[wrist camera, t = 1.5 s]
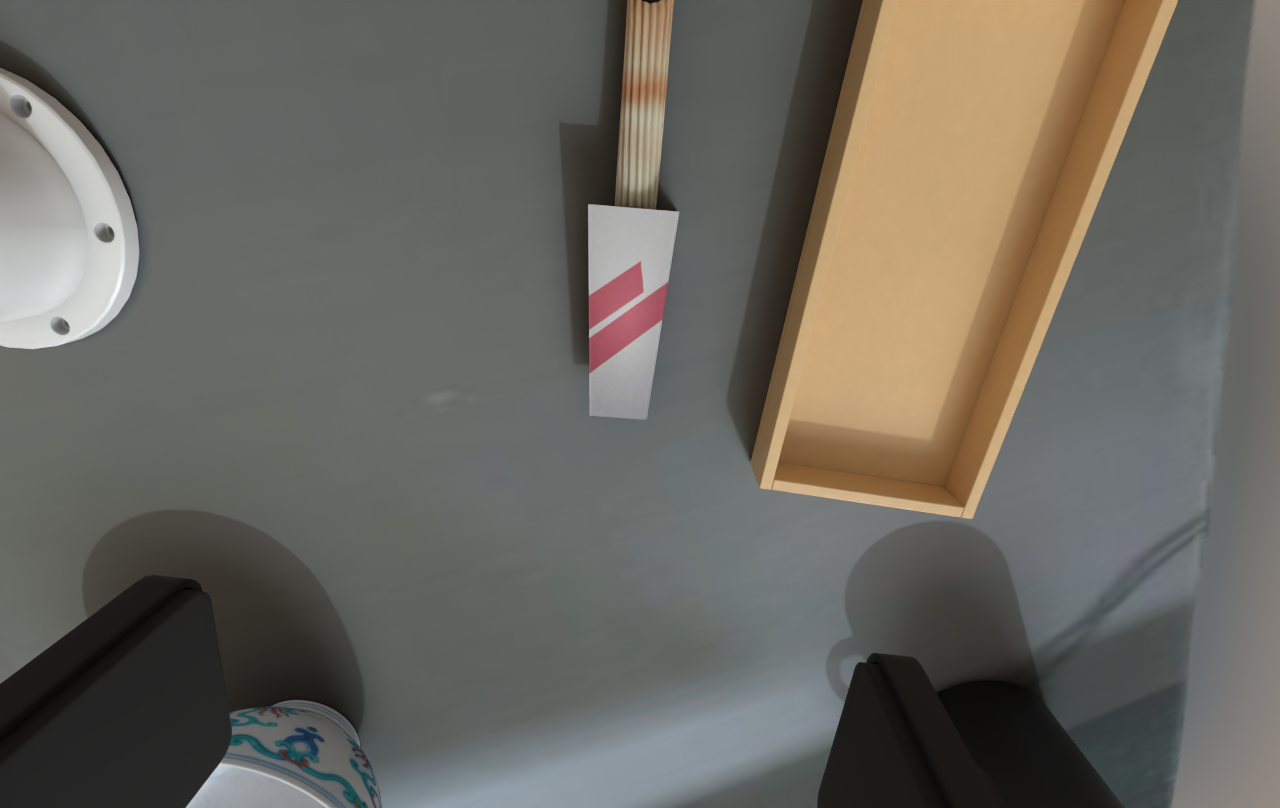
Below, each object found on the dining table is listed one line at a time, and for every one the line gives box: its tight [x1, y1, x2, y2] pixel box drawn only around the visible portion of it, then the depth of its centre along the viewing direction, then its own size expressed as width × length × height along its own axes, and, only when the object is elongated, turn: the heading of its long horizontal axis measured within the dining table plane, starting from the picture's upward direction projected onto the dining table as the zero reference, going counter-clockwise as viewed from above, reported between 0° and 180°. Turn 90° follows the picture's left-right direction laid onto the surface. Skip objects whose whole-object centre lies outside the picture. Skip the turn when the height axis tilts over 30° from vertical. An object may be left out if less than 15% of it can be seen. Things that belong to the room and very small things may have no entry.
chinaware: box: [186, 700, 382, 808], centre depth 35 cm, size 15×15×8 cm
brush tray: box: [751, 0, 1178, 519], centre depth 27 cm, size 11×24×3 cm, turn 171°
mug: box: [938, 682, 1124, 808], centre depth 34 cm, size 9×12×9 cm
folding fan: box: [588, 0, 679, 420], centre depth 26 cm, size 4×3×20 cm
